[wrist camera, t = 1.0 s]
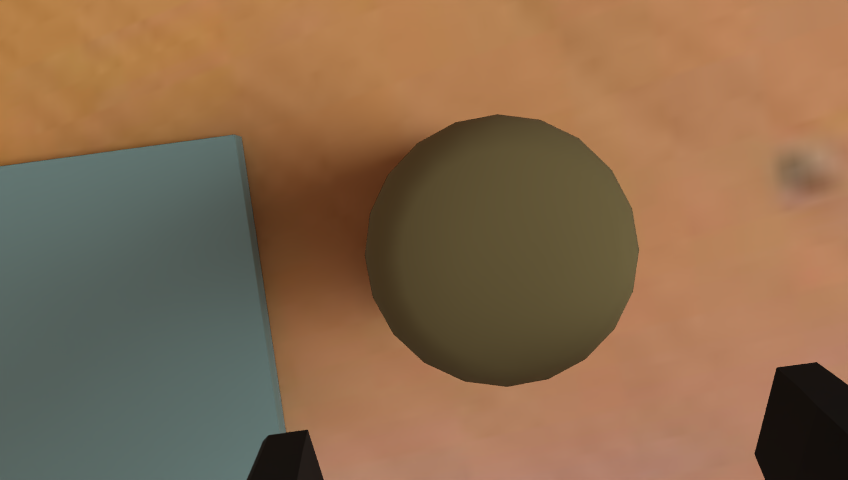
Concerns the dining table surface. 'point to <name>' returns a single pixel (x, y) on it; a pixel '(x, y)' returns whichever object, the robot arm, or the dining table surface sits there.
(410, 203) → the olive game pawn
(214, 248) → the teal board
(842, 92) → the dining table surface
